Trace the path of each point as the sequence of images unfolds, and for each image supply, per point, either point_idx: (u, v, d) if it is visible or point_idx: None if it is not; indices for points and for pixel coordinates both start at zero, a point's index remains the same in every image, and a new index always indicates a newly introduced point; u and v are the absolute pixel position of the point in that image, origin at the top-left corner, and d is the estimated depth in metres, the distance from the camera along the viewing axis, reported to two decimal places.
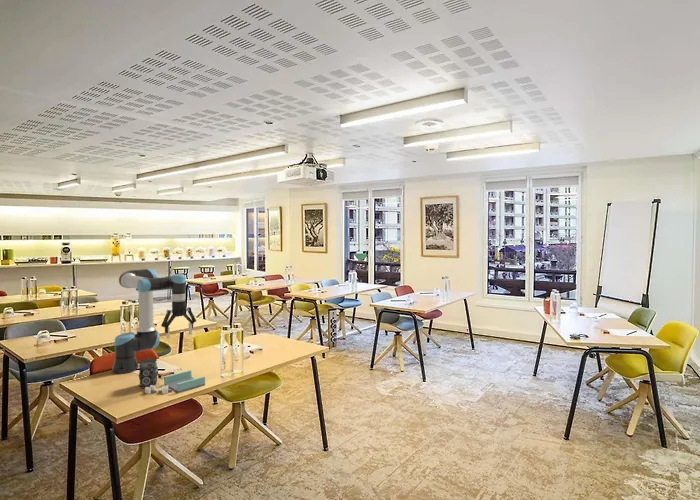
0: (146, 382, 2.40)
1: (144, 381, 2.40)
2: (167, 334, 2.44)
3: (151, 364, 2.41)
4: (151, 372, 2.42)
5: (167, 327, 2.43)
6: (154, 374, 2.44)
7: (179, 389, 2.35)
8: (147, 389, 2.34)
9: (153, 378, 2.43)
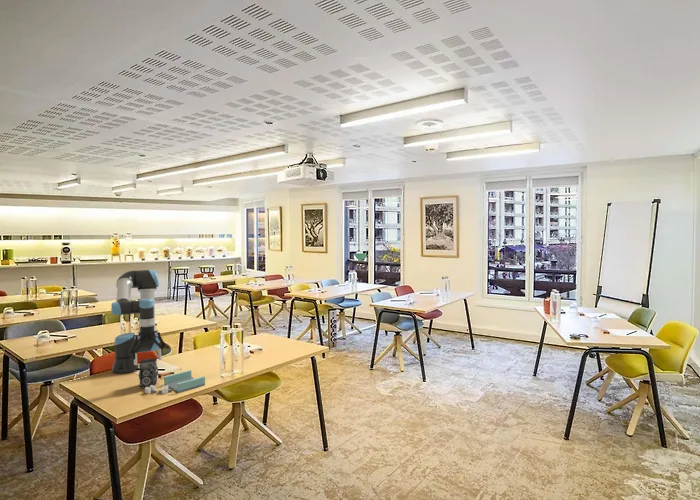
0: (146, 382, 2.40)
1: (144, 381, 2.40)
2: (134, 360, 2.39)
3: (151, 364, 2.41)
4: (151, 372, 2.42)
5: (134, 353, 2.38)
6: (154, 374, 2.44)
7: (179, 389, 2.35)
8: (147, 389, 2.34)
9: (153, 378, 2.43)
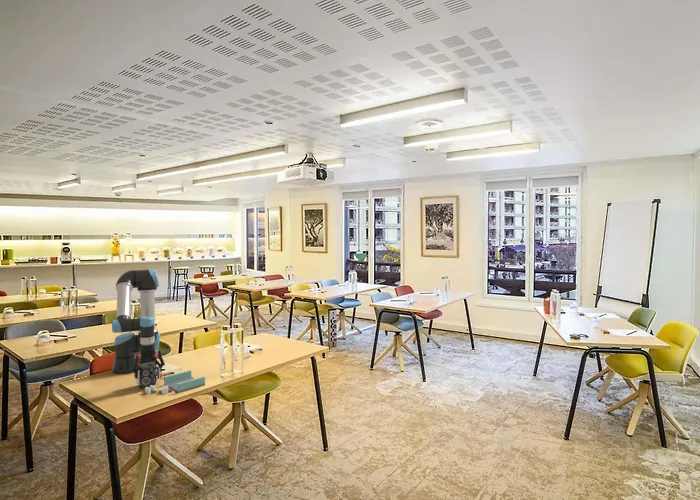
0: (146, 382, 2.40)
1: (144, 381, 2.40)
2: (137, 379, 2.40)
3: (151, 364, 2.41)
4: (151, 372, 2.42)
5: (137, 372, 2.39)
6: (154, 374, 2.43)
7: (179, 389, 2.35)
8: (147, 389, 2.34)
9: (153, 378, 2.43)
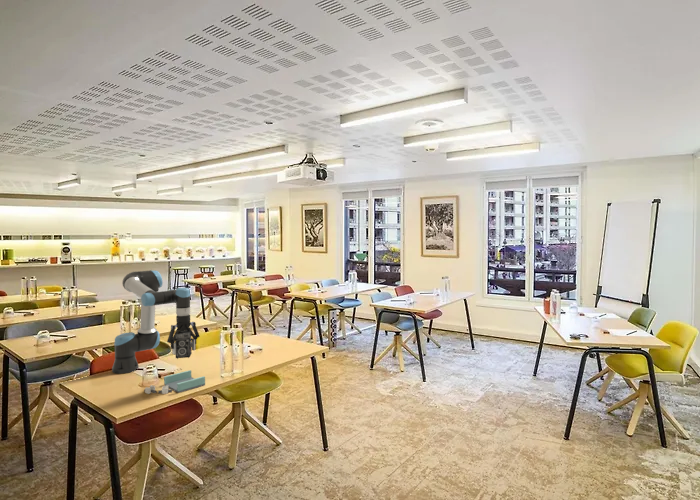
0: (182, 353, 2.41)
1: (180, 351, 2.40)
2: (173, 350, 2.41)
3: (187, 335, 2.42)
4: (187, 343, 2.42)
5: (173, 343, 2.40)
6: (189, 345, 2.44)
7: (179, 389, 2.35)
8: (147, 389, 2.34)
9: (189, 349, 2.43)
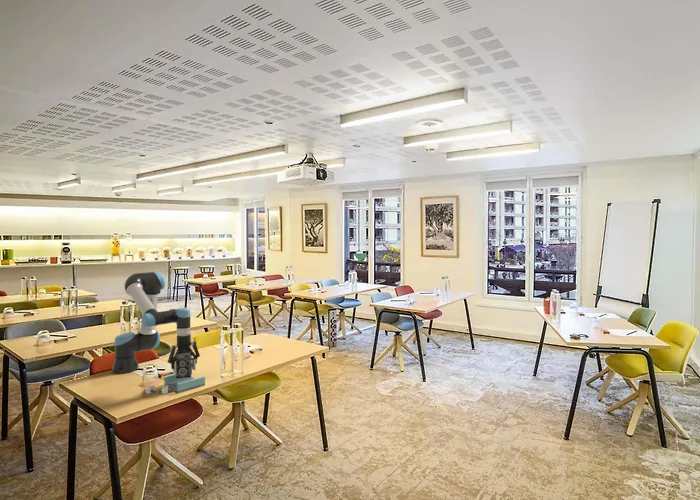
0: (182, 373, 2.41)
1: (180, 372, 2.41)
2: (174, 370, 2.42)
3: (187, 355, 2.43)
4: (187, 363, 2.43)
5: (174, 363, 2.40)
6: (190, 365, 2.45)
7: (179, 389, 2.35)
8: (147, 389, 2.34)
9: (189, 369, 2.44)
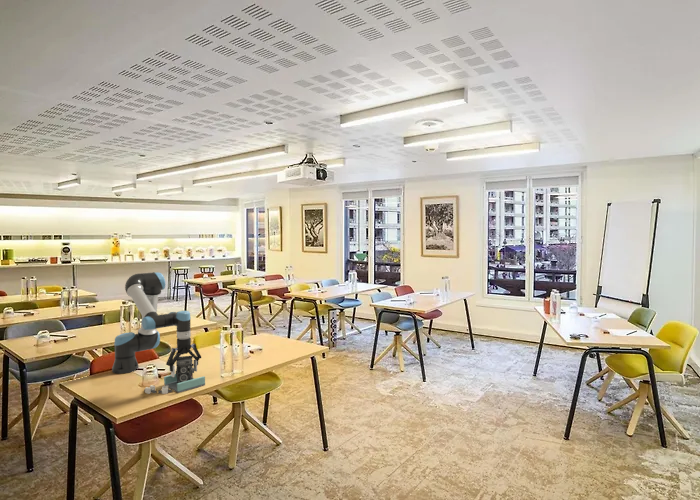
0: (183, 379, 2.42)
1: (181, 378, 2.42)
2: (172, 372, 2.41)
3: (188, 361, 2.43)
4: (188, 369, 2.44)
5: (172, 366, 2.40)
6: (191, 371, 2.45)
7: (179, 389, 2.35)
8: (147, 389, 2.34)
9: (190, 375, 2.45)
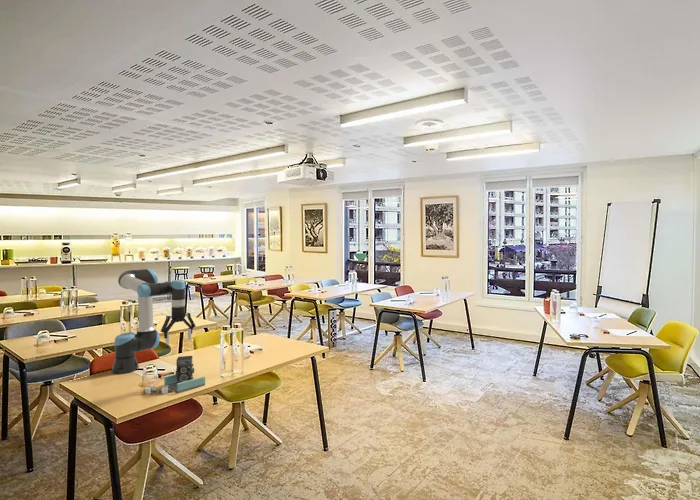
0: (183, 379, 2.42)
1: (181, 378, 2.42)
2: (166, 339, 2.46)
3: (188, 361, 2.43)
4: (188, 369, 2.44)
5: (166, 333, 2.45)
6: (191, 371, 2.45)
7: (179, 389, 2.35)
8: (147, 389, 2.34)
9: (190, 375, 2.45)
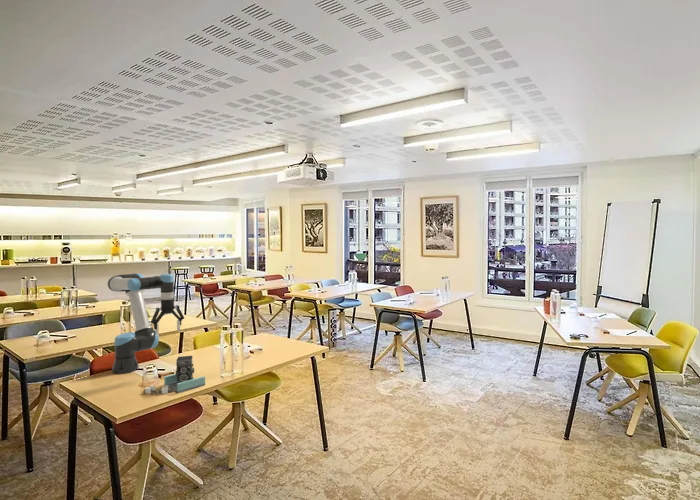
0: (183, 379, 2.42)
1: (181, 378, 2.42)
2: (156, 330, 2.58)
3: (188, 361, 2.43)
4: (188, 369, 2.44)
5: (156, 324, 2.57)
6: (191, 371, 2.45)
7: (179, 389, 2.35)
8: (147, 389, 2.34)
9: (190, 375, 2.45)
